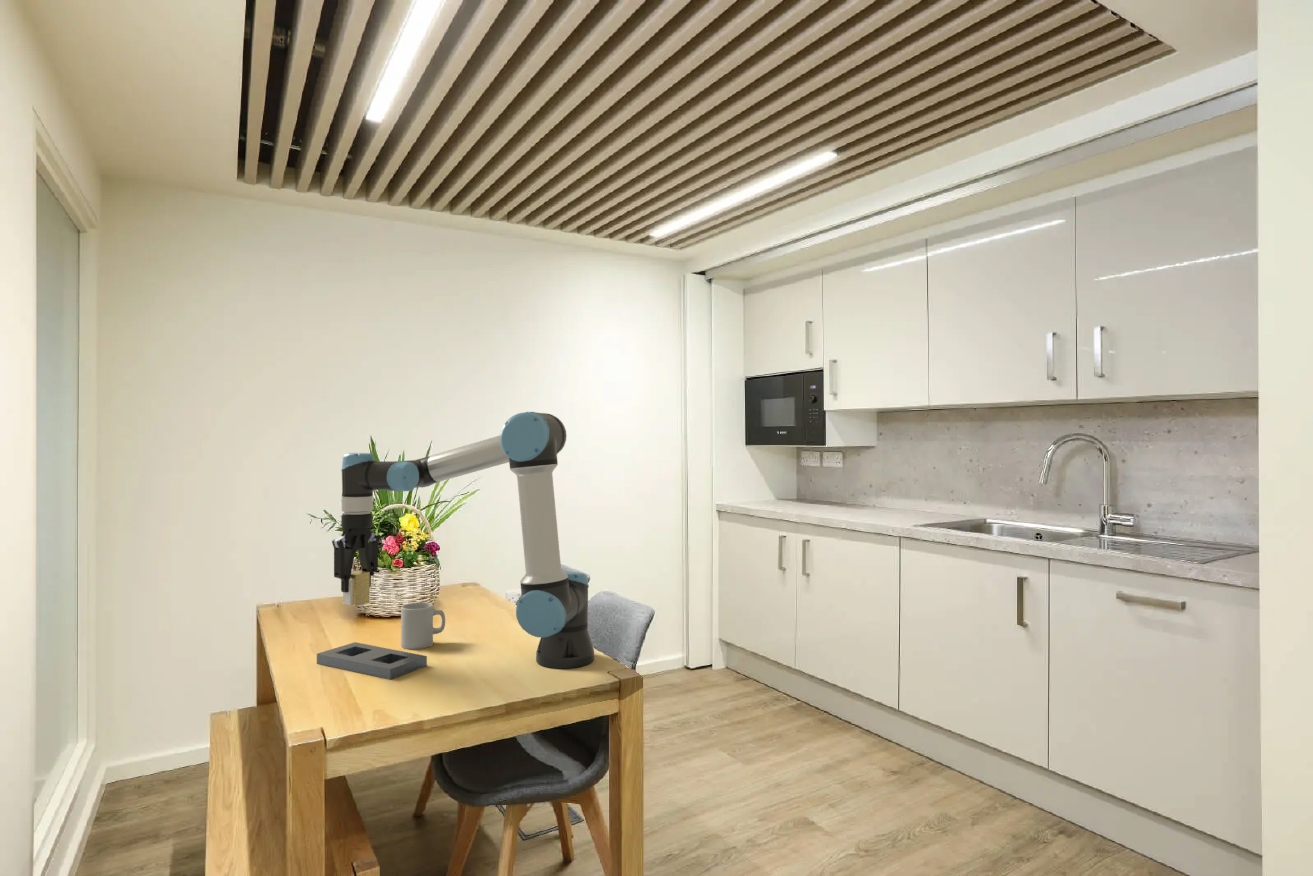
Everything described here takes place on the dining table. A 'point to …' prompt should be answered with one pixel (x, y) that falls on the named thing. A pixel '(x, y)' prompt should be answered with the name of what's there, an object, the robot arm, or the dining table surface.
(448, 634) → the dining table surface
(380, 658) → the square hole plate
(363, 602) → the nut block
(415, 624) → the mug
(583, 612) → the robot arm
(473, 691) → the dining table surface
